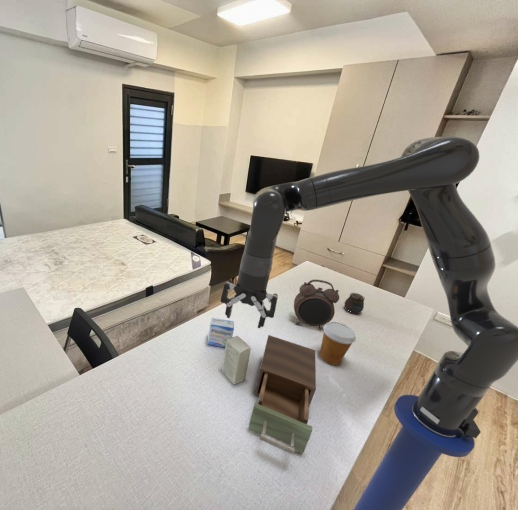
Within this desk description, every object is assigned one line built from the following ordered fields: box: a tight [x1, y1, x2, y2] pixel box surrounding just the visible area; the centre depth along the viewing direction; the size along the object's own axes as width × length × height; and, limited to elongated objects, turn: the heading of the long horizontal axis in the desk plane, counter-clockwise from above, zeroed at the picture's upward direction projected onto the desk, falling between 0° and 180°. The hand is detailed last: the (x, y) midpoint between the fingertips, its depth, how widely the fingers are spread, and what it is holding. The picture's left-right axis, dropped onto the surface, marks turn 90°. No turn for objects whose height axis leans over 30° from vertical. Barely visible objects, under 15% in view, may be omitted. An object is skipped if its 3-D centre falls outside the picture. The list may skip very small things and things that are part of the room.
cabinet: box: [253, 334, 317, 410], centre depth 80 cm, size 16×14×10 cm
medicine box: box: [207, 317, 235, 349], centre depth 95 cm, size 8×4×9 cm, turn 81°
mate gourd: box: [344, 292, 366, 315], centre depth 121 cm, size 7×8×10 cm
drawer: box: [247, 373, 313, 455], centre depth 67 cm, size 19×13×8 cm, turn 155°
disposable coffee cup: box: [319, 321, 357, 366], centre depth 92 cm, size 10×10×12 cm
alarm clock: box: [293, 279, 340, 331], centre depth 107 cm, size 15×7×20 cm, turn 72°
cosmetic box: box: [221, 335, 252, 385], centre depth 81 cm, size 6×4×12 cm
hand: (243, 321), depth 76 cm, fingers open, 8 cm apart
